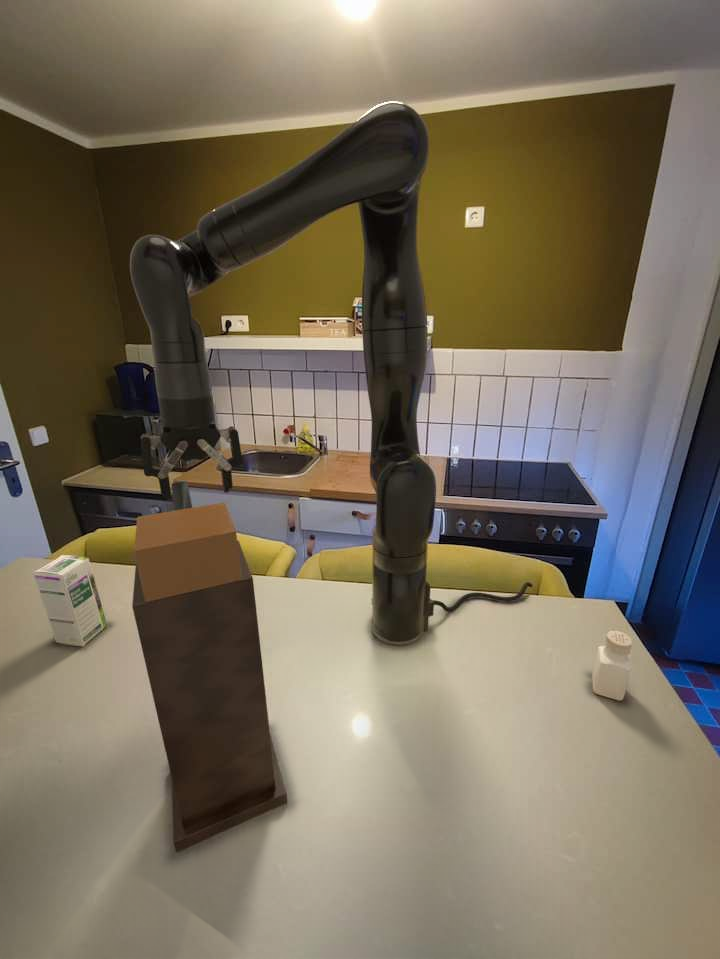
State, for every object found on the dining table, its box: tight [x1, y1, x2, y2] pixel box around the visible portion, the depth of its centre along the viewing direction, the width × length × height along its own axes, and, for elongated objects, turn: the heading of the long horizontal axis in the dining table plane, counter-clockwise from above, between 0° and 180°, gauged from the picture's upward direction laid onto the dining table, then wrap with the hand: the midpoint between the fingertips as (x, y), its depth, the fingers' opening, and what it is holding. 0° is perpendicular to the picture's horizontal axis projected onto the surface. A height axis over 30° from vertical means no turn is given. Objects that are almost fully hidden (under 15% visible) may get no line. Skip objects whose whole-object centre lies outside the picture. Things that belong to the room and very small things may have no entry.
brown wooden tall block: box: [131, 539, 288, 853], centre depth 46 cm, size 12×10×30 cm
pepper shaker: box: [591, 630, 633, 701], centre depth 63 cm, size 4×4×10 cm
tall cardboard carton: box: [133, 480, 242, 602], centre depth 47 cm, size 8×24×5 cm, turn 24°
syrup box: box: [32, 554, 108, 648], centre depth 74 cm, size 6×6×14 cm
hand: (198, 494), depth 68 cm, fingers open, 8 cm apart
